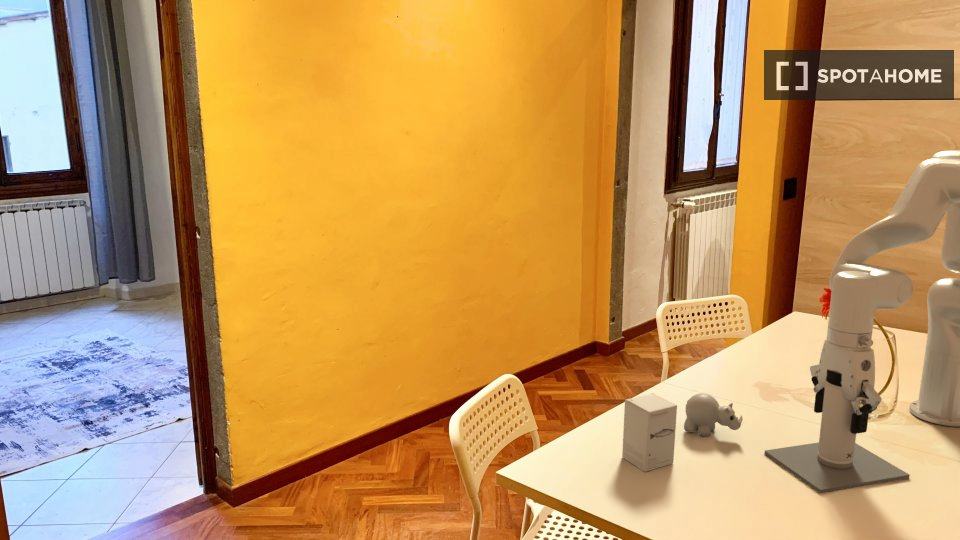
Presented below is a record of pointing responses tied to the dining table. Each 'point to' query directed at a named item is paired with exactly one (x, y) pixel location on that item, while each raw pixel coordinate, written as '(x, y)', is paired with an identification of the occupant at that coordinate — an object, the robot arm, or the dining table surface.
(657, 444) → the supplement box
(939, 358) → the robot arm
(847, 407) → the travel mug
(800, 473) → the mat
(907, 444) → the dining table surface
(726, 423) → the chubby cartoon animal
